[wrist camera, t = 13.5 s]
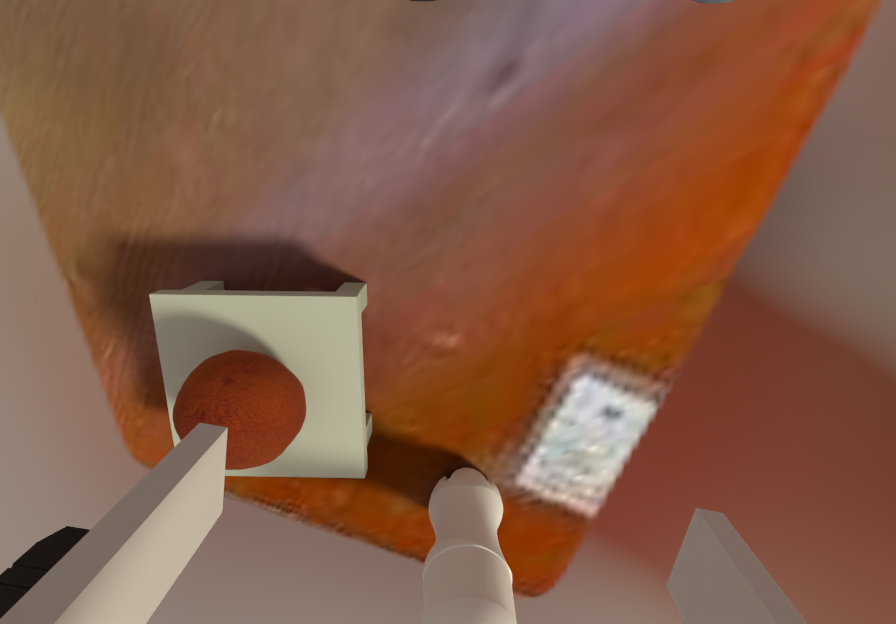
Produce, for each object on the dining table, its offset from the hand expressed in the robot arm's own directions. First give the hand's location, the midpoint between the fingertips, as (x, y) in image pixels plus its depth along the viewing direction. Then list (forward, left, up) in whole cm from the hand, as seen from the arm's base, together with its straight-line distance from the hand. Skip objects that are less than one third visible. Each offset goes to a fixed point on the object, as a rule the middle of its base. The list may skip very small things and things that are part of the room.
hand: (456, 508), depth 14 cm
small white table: (+11, -14, -32) cm, 36 cm away
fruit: (+11, -14, -25) cm, 31 cm away
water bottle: (+22, +5, -32) cm, 39 cm away
